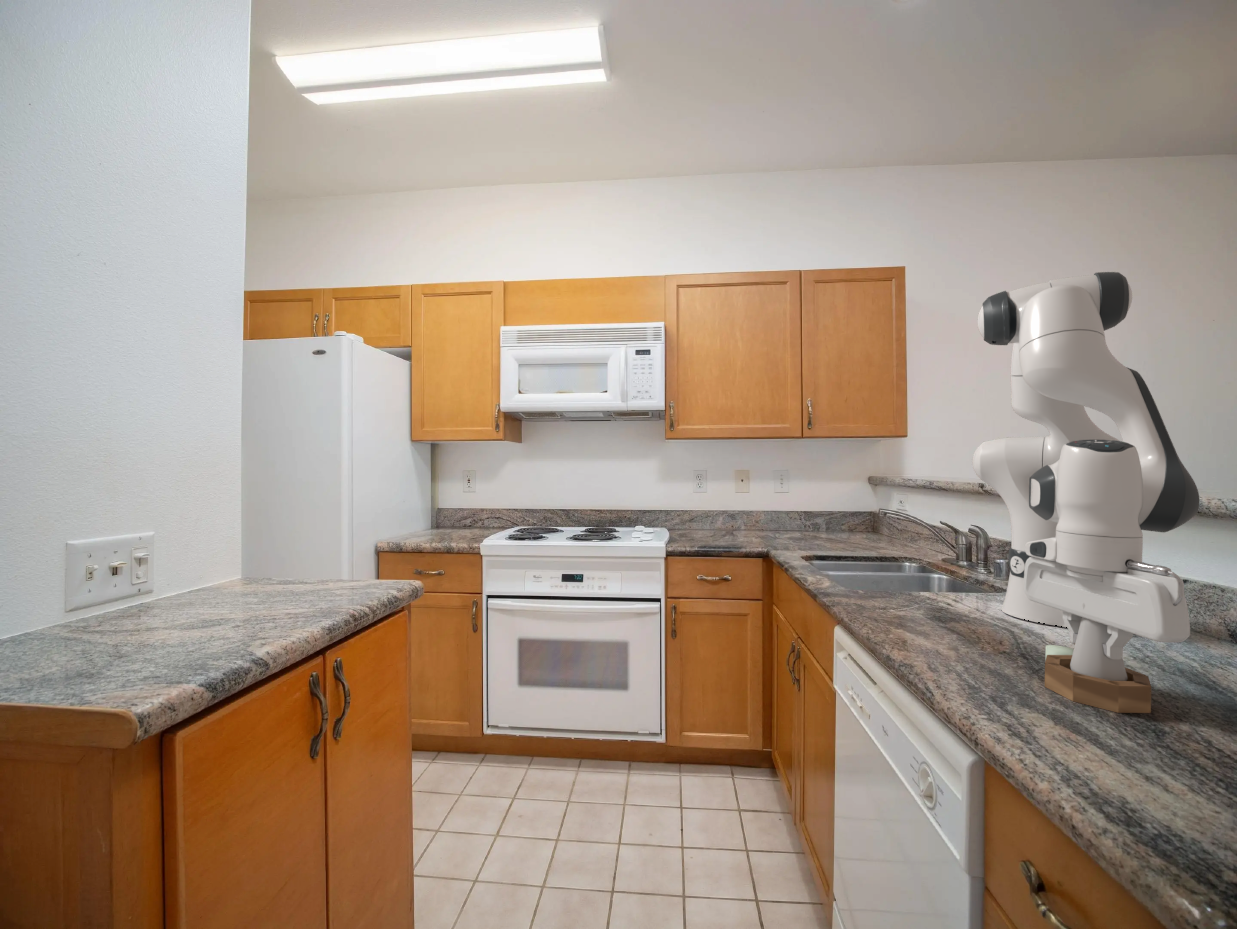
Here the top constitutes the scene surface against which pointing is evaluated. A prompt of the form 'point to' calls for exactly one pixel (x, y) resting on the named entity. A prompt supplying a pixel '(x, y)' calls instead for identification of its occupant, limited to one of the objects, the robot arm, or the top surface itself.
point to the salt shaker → (1095, 653)
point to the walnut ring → (1098, 687)
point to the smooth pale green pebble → (1058, 650)
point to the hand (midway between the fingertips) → (1095, 651)
